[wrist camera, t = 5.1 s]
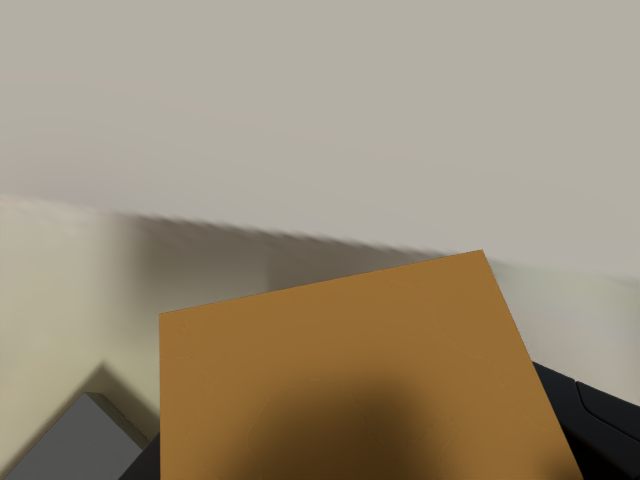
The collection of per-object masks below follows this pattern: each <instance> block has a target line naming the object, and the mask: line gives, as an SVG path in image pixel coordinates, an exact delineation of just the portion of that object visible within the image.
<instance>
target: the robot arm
mask: <svg viewBox="0 0 640 480" xmlns="http://www.w3.org/2000/svg"><path fill="white" fill-rule="evenodd" d="M532 363H533V365H534V368H535V370H536V372H537V374H538V377H539V379H540V381H541V384H542V386H543V388H544V390H545V393H546V395H547V397H548V399H549V402H550V404H551V406H552V408H553V411H554V413H555V415H556V417H557V420H558V422H559V424H560V426H561V429H562V431H563V433H564V436H565V438H566V440H567V442H568V445H569V447H570V449H571V451H572V454H573V456H574V458H575V460H576V463H577V465H578V467H579V469H580V472H581V474H582V476H583V478H584V480H640V406H637V405H634V404H632V403H629V402H627V401H624V400H622V399H619V398H617V397H615V396H612V395H610V394H607V393H605V392H603V391H600V390H598V389H595V388H593V387H591V386H588V385H586V384H584V383H582V382H579V381H576V382H575V380H574V379H572V378H570V377H568V376H565V375H563V374H561V373H558V372H556V371H554V370H551V369H549V368H547V367H544V366H542V365H540V364H538V363H535V362H533V361H532ZM118 480H161V471H160V431H159V432H158V433H157V434H156V436H155V437H154V438H153V439H152V440H151V441H150V443H149V444H148V445H147V446H146V447H145V448H144V449H143V451H142V452H141V453H140V454H139V455H138V456H137V458H136V459H135V460H134V461H133V462H132V463H131V465H130V466H129V467H128V468H127V469H126V470H125V471H124V473H123V474H122V475H121V476H120V477H119V478H118Z"/></svg>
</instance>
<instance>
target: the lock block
mask: <svg viewBox="0 0 640 480" xmlns="http://www.w3.org/2000/svg"><path fill="white" fill-rule="evenodd" d="M159 335H160V471H161V480H584V478H583V476H582V474H581V472H580V469H579V467H578V465H577V463H576V460H575V458H574V456H573V454H572V451H571V449H570V447H569V445H568V442H567V440H566V438H565V436H564V433H563V431H562V429H561V426H560V424H559V422H558V420H557V417H556V415H555V413H554V411H553V408H552V406H551V404H550V402H549V399H548V397H547V395H546V393H545V390H544V388H543V386H542V384H541V381H540V379H539V377H538V374H537V372H536V370H535V368H534V365H533V363H532V361H531V359H530V356H529V354H528V352H527V350H526V347H525V345H524V343H523V341H522V338H521V336H520V334H519V332H518V329H517V327H516V325H515V322H514V320H513V318H512V316H511V313H510V311H509V309H508V307H507V304H506V302H505V300H504V298H503V295H502V293H501V291H500V289H499V286H498V284H497V282H496V280H495V277H494V275H493V273H492V270H491V268H490V266H489V264H488V261H487V259H486V257H485V255H484V253H483V251H482V250H478V251H472V252H467V253H462V254H457V255H452V256H447V257H442V258H437V259H432V260H427V261H422V262H417V263H412V264H407V265H402V266H397V267H392V268H387V269H382V270H377V271H372V272H367V273H362V274H357V275H352V276H347V277H342V278H337V279H332V280H327V281H322V282H317V283H312V284H307V285H302V286H297V287H292V288H287V289H282V290H277V291H272V292H267V293H262V294H257V295H252V296H247V297H242V298H237V299H232V300H227V301H222V302H217V303H212V304H207V305H202V306H197V307H192V308H187V309H182V310H177V311H172V312H167V313H162V314H159Z"/></svg>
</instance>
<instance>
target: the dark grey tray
mask: <svg viewBox="0 0 640 480" xmlns="http://www.w3.org/2000/svg"><path fill="white" fill-rule="evenodd" d="M149 443H150V441H149V440H148V439H147V438H146V437H145V436H144V435H143V434H142V433H141V432H140V431H139V430H138V429H137V428H136V427H135V426H134V425H133V424H132V423H131V422H130V421H128V420H127V419H126V418H125V417H124V416H123V415H122V414H121V413H120V412H119V411H118V410H117V409H116V408H115V407H114V406H113V405H112V404H111V403H110V402H109V401H108V400H107V399H106V398H105V397H104V396H103V395H102V394H101V393H91V392H84V393H83V394H82V395H81V396H80V397H79V398H78V399H77V400H76V401H75V402H74V404H73V405H72V406H71V407H70V408H69V409H68V410H67V411H66V412H65V413H64V414H63V415H62V417H61V418H60V419H59V420H58V421H57V422H56V423H55V424H54V425H53V426H52V427H51V429H50V430H49V431H48V432H47V433H46V434H45V435H44V436H43V437H42V438H41V439H40V440H39V442H38V443H37V444H36V445H35V446H34V447H33V448H32V449H31V450H30V451H29V452H28V454H27V455H26V456H25V457H24V458H23V459H22V460H21V461H20V462H19V463H18V464H17V466H16V467H15V468H14V469H13V470H12V471H11V472H10V473H9V474H8V475H7V476H6V477H5V479H4V480H118V478H119V477H120V476H121V475H122V474H123V473H124V471H125V470H126V469H127V468H128V467H129V466H130V465H131V463H132V462H133V461H134V460H135V459H136V458H137V456H138V455H139V454H140V453H141V452H142V451H143V449H144V448H145V447H146V446H147V445H148V444H149Z"/></svg>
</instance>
